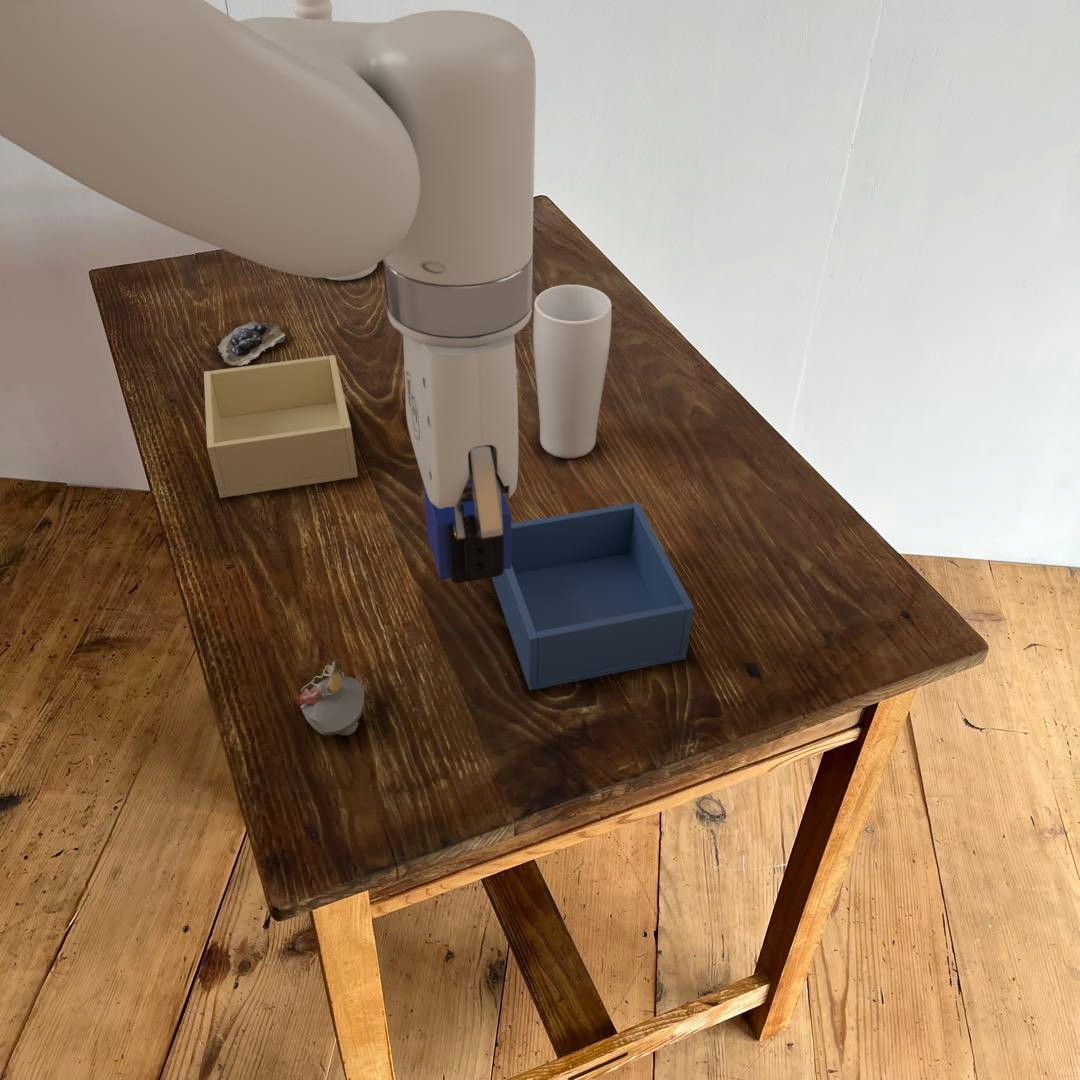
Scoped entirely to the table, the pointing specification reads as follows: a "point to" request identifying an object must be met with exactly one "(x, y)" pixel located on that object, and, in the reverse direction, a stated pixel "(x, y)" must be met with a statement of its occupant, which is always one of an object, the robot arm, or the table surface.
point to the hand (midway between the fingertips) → (468, 546)
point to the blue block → (443, 521)
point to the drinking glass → (570, 366)
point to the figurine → (333, 702)
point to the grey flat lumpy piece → (249, 342)
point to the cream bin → (278, 426)
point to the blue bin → (592, 596)
